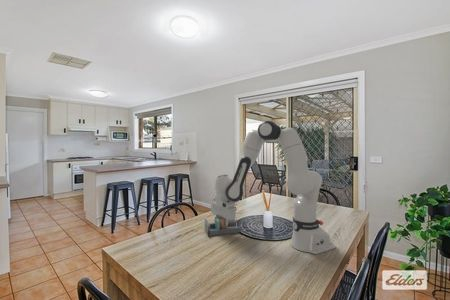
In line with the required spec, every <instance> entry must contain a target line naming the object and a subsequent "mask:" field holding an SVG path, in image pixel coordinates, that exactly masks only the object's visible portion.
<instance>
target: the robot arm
mask: <svg viewBox="0 0 450 300" xmlns="http://www.w3.org/2000/svg"><path fill="white" fill-rule="evenodd" d="M265 143H266V144H276V143H279V145H280V147H281V150H282V153H283V156H284V159H285V161H286V166H287V167H286V168H287V174H288V177H287V180H286V187H287V189H288V191H289V192H290V193H291V194H293V195H296V197H295V200H294V202H293V217H292V229H293V230H292V236H291V240H290V246H291V247H292V248H294V249H295V250H298V251H301V252H304V253H305V252H306V253H309V254H314V255H318V254H322V253H324V252H328V251H330V250H333V249H336V245H335V243H334V242H332V240H331V237H330V234H329V233H328V232H327V230H324V229H323V228H322V227H321V226H323V225H324V221H322V220H319V219H317V207H318V206H317V204H318V199H319V195H320V190H321V186H322V184H323V177H322V175H321V174H320V173H319V172H317V171H314V170H309V167H308V159H309V158H308V155H307V152H306V149H305V146H304V144H303V142H302V139H301V137H300V135H299V134H298V132H297V130H296V129H295V128H294V127H286V128H282V127H281V126H279V125H278V124H277V123H276V122H274V121H272V120H264V121H262V122H261V123H259V125H258V128H257V129H251V130H249V132H248V133H247V134H246V137H245V138H244V140H243V143H242V145H241V148H240V153H239V159H238V164H237V168H236V171H235V173H234V176H233V177H231V176H229V175H228V174H222V175H219V176H217V177H216V178H215V181H214V182H215V184H214V191H215V195H214V196H215V198H213V199H211V204H210V212H211V214H214V215H215V217H217V218H218V215H219V216H221V217H223V218H225V220H226V222H224V225H226V226H228V222H230V221H235V219H236V213H237V211H236V212H235V210H236V208H235V207H236V203H237V202H239V201H240V200H242V199H243V196H244V193H245V190H246V187H245V184H244V183H245V181H246V178H247V175H248V173H249V171H250V169H251V167H252V166H253V165H254V164H255V162H256V160H257V159H258V157H259V155H260V153H261V150H262V148H263V145H264V144H265Z"/></svg>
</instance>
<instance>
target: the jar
mask: <svg viewBox="0 0 450 300" xmlns="http://www.w3.org/2000/svg"><path fill="white" fill-rule="evenodd" d="M218 220H219V221H220V229H225V228H228V226H226V225H224V222H226V220H225V218H223V217H221V216H219V215H218Z"/></svg>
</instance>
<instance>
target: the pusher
mask: <svg viewBox="0 0 450 300" xmlns="http://www.w3.org/2000/svg"><path fill="white" fill-rule="evenodd" d="M214 223H215V229H220V221H219V220H218V218H217V217H216V216H214Z"/></svg>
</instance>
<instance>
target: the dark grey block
mask: <svg viewBox="0 0 450 300" xmlns="http://www.w3.org/2000/svg"><path fill="white" fill-rule="evenodd" d="M241 229H242V227H241V226H237V223H236V220H232V221H230V220H229V222H228V228H225V229H215V222H211V223H209V221H208V219H207V218H205V219H204V230H205V232H206V234H207V237H212V236H213V237H214V236H221V235H230V234H241V232H242V230H241Z"/></svg>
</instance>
